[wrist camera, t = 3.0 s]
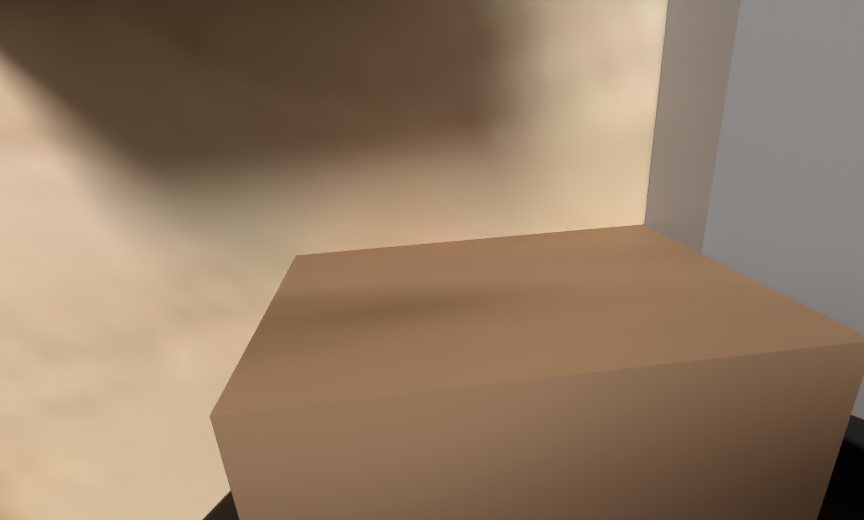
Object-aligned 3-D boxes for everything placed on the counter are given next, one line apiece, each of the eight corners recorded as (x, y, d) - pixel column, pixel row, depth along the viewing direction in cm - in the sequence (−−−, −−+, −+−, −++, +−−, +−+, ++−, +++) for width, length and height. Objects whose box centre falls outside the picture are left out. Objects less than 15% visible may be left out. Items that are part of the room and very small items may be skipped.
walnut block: (615, 484, 10) (752, 716, 6) (342, 521, 10) (317, 793, 6) (643, 224, 8) (875, 339, 4) (296, 255, 7) (210, 415, 4)
